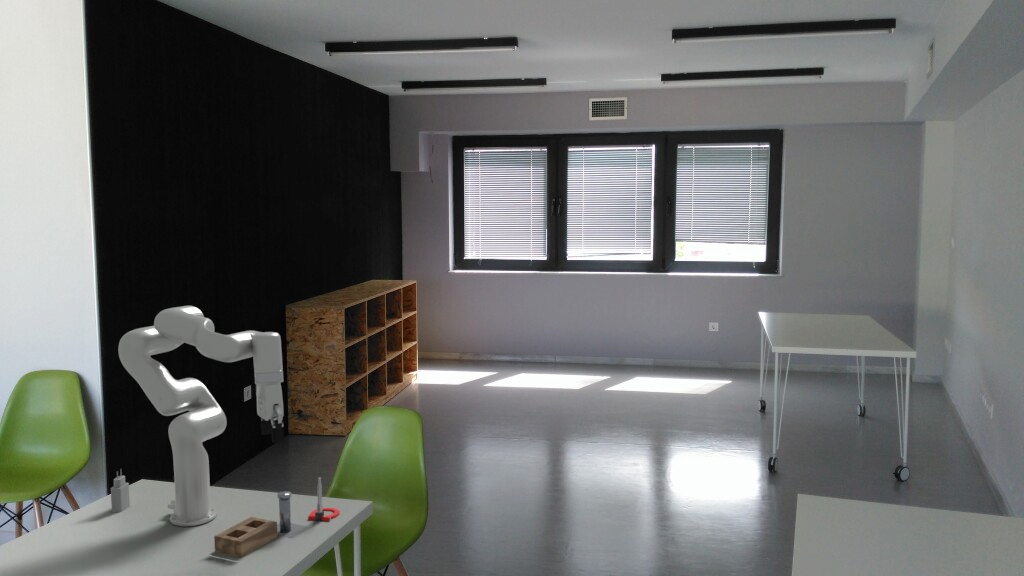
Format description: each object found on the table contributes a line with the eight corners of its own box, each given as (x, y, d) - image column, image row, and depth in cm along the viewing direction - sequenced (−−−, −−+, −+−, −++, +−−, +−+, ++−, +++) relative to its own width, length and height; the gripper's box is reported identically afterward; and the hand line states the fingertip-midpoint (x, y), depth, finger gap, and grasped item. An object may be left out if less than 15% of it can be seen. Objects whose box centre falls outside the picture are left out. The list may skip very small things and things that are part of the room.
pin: (275, 532, 219) (274, 495, 218) (284, 527, 223) (283, 490, 221) (286, 534, 218) (285, 497, 217) (295, 529, 221) (294, 492, 220)
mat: (264, 532, 219) (264, 531, 219) (282, 522, 227) (282, 521, 227) (292, 538, 215) (292, 537, 215) (311, 528, 223) (311, 527, 223)
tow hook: (317, 510, 237) (304, 521, 228) (317, 468, 236) (304, 477, 227) (343, 512, 236) (332, 523, 227) (344, 470, 235) (332, 479, 226)
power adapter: (110, 511, 234) (108, 473, 233) (121, 505, 240) (119, 467, 238) (120, 512, 234) (118, 473, 233) (130, 505, 239) (129, 467, 238)
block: (214, 552, 207) (214, 535, 206) (251, 532, 220) (251, 516, 219) (241, 558, 203) (241, 541, 203) (277, 537, 216) (276, 521, 216)
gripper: (246, 374, 221) (250, 433, 222) (264, 384, 206) (268, 447, 208) (273, 370, 225) (277, 429, 226) (292, 379, 210) (296, 442, 212)
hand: (273, 437), depth 217 cm, fingers open, 9 cm apart
